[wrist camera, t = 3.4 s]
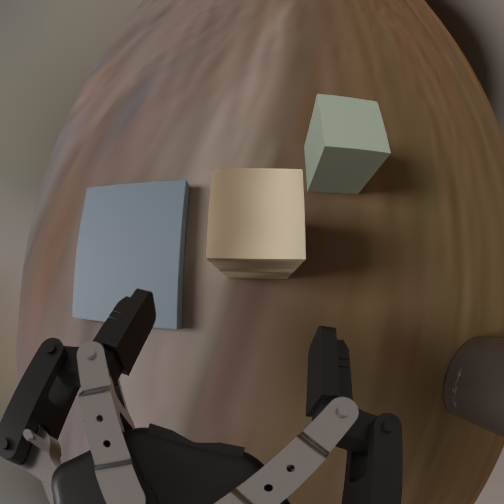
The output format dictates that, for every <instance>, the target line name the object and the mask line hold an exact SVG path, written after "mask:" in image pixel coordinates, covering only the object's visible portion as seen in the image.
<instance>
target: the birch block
mask: <svg viewBox="0 0 504 504" xmlns="http://www.w3.org/2000/svg"><path fill="white" fill-rule="evenodd" d="M206 258H207V259H208V260H209V261H210V262H211V263H212V264H213V265H214V266H215V267H217V268H218V269H219V270H220V271H221V272H222V273H223V274H224V275H226V276H227V277H228V278H258V279H287V278H288V277H289V276H290V275H291V274H292V273H293V272H294V271H295V270H296V269H297V268H298V267H299V266H300V265H301V264H302V263H303V262H304V261H305V260H306V243H305V212H304V191H303V173H302V169H262V168H240V169H212V173H211V186H210V200H209V214H208V231H207V250H206Z"/></svg>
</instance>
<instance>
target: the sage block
mask: <svg viewBox="0 0 504 504" xmlns="http://www.w3.org/2000/svg"><path fill="white" fill-rule="evenodd" d="M304 150H305V163H306V177H307V192H325V193H344V194H359V192H360V191H361V190H362V189H363V187H364V186H365V185H366V184H367V182H368V181H369V180H370V179H371V177H372V176H373V175H374V174H375V173H376V171H377V170H378V169H379V167H380V166H381V165H382V164H383V162H384V161H385V160H386V159H387V157H388V156H389V155H390V154H391V152H390V148H389V143H388V139H387V135H386V131H385V127H384V124H383V120H382V117H381V113H380V110H379V106H378V103H377V102H375V101H369V100H363V99H357V98H350V97H342V96H333V95H324V94H317V97H316V101H315V105H314V110H313V114H312V118H311V122H310V126H309V130H308V134H307V138H306V142H305V146H304Z"/></svg>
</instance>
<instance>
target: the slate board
mask: <svg viewBox="0 0 504 504" xmlns="http://www.w3.org/2000/svg"><path fill="white" fill-rule="evenodd" d="M189 190H190V186H189V184H188V183H187V181H186V180H175V181H158V182H144V183H131V184H120V185H110V186H100V187H92V188H87V192H86V197H85V202H84V207H83V212H82V218H81V224H80V231H79V238H78V245H77V253H76V263H75V274H74V289H73V317H76V318H82V319H89V320H95V321H102V322H105V321H106V320H107V318H109V315H110V313H111V312H112V311H113V309H114V307H115V306H116V304H117V303H118V302H119V301H120V300H122V299H123V298H124V297H126V296H128V297H131V296H132V294H133V293H134V291H135V290H136V289H138V288H139V289H143V290H147V291H151V292H152V293H153V297H154V303H155V309H156V320H155V323H154V326H153V327H154V328H165V329H180V328H182V292H183V269H184V251H185V236H186V223H187V211H188V200H189Z"/></svg>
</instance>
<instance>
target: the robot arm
mask: <svg viewBox="0 0 504 504" xmlns="http://www.w3.org/2000/svg"><path fill="white" fill-rule="evenodd" d="M155 320H156V309H155V303H154V297H153V293H152V292H151V291H147V290H143V289H139V288H138V289H136V290H135V291H134V293H133V294H132V296H131V297H128V296H126V297H124V298H123V299H122V300H120V301H119V302H118V303H117V304H116V306H115V307H114V309H113V311H112V312H111V313H110V315H109V318H107V320H106V321H105V323H104V324H103V326H102V327H101V329H100V330H99V332H98V334H97V335H96V337H95V338H94V340H93V341H90V342H86V343H84V344H82V345H81V346H80V347H69V346H63V344H62V342H61V341H60V340H59V339H56V338H49V339H47V340H45V341H44V342H43V343H42V344H41V346H40V347H39V349H38V351H37V352H36V354H35V356H34V357H33V359H32V361H31V363H30V364H29V366H28V368H27V370H26V372H25V373H24V375H23V377H22V379H21V381H20V383H19V385H18V387H17V388H16V390H15V392H14V394H13V397H12V399H11V401H10V403H9V405H8V407H7V409H6V411H5V413H4V415H3V418H2V420H1V422H0V456H1V457H3V458H4V459H6V460H8V461H10V462H11V463H12V464H15V465H16V466H18V467H20V468H22V469H25V470H27V471H28V472H30V473H31V474H33V475H34V476H36V477H37V478H39V479H40V480H42V481H43V482H45V483H47V484H48V485H50V486H51V487H52V493H53V499H54V504H290V503H289V501H288V500H287V497H288V496H289V495H290V494H291V493H293V492H294V491H295V490H296V489H297V488H298V487H299V486H300V485H301V484H302V483H303V482H304V481H305V480H306V479H307V478H308V477H309V476H310V475H311V474H312V473H313V472H314V471H315V470H316V469H317V468H318V467H319V466H320V465H321V464H322V462H323V461H324V460H325V459H326V458H327V456H328V454H329V452H330V451H331V450H332V449H333V448H334V447H335V446H337V447H339V448H342V449H345V450H347V462H346V472H345V482H344V490H343V498H342V504H401V494H402V426H401V422H400V420H399V419H398V417H397V416H395V415H393V414H391V413H383V414H381V415H379V416H375V415H372V414H370V413H367V412H364V411H362V410H361V409H359V408H358V407H357V405H356V404H355V402H354V401H353V398H352V385H351V371H350V361H349V349H348V347H347V346H346V344H345V342H344V340H337V337H336V329H335V328H332V327H325V326H319V327H318V330H317V332H316V334H315V336H314V339H313V341H312V343H311V346H310V349H309V354H308V380H307V401H306V416H309V417H312V422H311V423H310V424H309V425H308V426H307V427H306V428H305V429H304V430H303V431H302V432H301V433H300V434H299V435H298V436H297V437H296V438H295V439H294V440H293V441H292V442H290V443H289V444H288V445H287V446H286V447H285V448H284V449H283V450H282V451H281V452H280V453H278V454H277V455H276V456H275V457H274V458H273V459H272V460H271V461H269V462H268V463H267V464H266V465H265V466H264V465H263V463H261V462H260V461H259V460H258V459H257V458H255V457H254V456H252V455H250V454H248V453H246V452H244V449H245V447H239V446H234V445H229V444H224V443H195V442H192V441H190V440H188V439H187V438H185V437H183V436H181V435H179V434H178V433H176V432H174V431H172V430H169V429H166V428H163V427H160V426H157V425H154V424H151V423H150V425H149V428H135V426H134V423H133V421H132V419H131V417H130V415H129V412H128V409H127V406H126V403H125V399H124V396H123V392H122V389H121V385H120V381H119V377H120V375H121V373H123V374H126V375H128V376H129V374H130V372H131V370H132V367H133V365H134V363H135V361H136V359H137V357H138V355H139V353H140V351H141V349H142V347H143V345H144V343H145V341H146V339H147V337H148V335H149V333H150V331H151V329H152V328H153V326H154V323H155ZM80 387H81V390H82V392H81V393H80V394H79V402H80V407H81V412H82V417H83V422H84V426H85V431H86V435H87V439H88V442H89V446H90V450H89V451H87V452H85V453H83V454H81V455H79V456H77V457H75V458H73V459H71V460H69V461H67V462H65V463H63V464H61V461H60V457H61V447H60V444H59V442H58V441H57V440H58V438H59V435H60V433H61V430H62V428H63V425H64V423H65V420H66V418H67V415H68V413H69V411H70V408H71V406H72V404H73V401H74V399H75V397H76V395H77V392H78V390H79V388H80ZM444 402H445V404H446V407H447V409H448V410H449V411H450V412H451V413H453V414H455V415H457V416H459V417H461V418H463V419H465V420H467V421H469V422H471V423H473V424H475V425H477V426H480V427H482V428H484V429H486V430H488V431H491V432H493V433H495V434H497V435H500V436H502V437H504V338H495V337H475V338H473V339H471V340H469V341H468V342H466V343H465V344H464V345H463V346H462V347H461V348H460V350H459V351H458V352H457V354H456V355H455V357H454V358H453V360H452V362H451V365H450V367H449V369H448V372H447V375H446V379H445V384H444Z"/></svg>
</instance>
